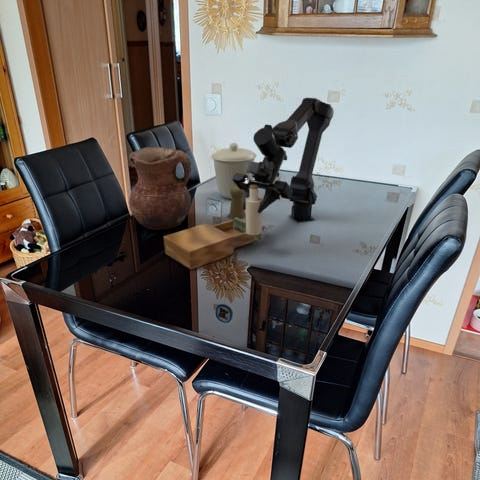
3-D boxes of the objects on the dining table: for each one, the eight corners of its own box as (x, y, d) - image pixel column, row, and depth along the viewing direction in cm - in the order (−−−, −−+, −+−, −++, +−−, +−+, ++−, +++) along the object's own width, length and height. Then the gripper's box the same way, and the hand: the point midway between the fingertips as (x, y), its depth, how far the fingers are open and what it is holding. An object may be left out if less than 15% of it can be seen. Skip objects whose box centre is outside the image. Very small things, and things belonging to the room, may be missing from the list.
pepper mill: (243, 219, 161) (243, 189, 154) (227, 218, 162) (226, 189, 155) (246, 213, 166) (246, 184, 159) (231, 212, 167) (230, 184, 160)
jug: (142, 239, 147) (130, 163, 132) (125, 219, 162) (113, 149, 148) (202, 227, 155) (197, 154, 141) (181, 209, 170) (174, 142, 156)
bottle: (255, 227, 138) (255, 182, 130) (264, 232, 135) (265, 186, 127) (242, 231, 136) (242, 185, 128) (251, 236, 133) (251, 189, 124)
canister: (263, 193, 185) (264, 141, 174) (241, 205, 173) (240, 150, 161) (228, 186, 194) (227, 136, 182) (204, 197, 181) (201, 144, 169)
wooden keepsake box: (207, 239, 146) (206, 223, 142) (233, 253, 137) (233, 236, 133) (165, 253, 137) (163, 236, 134) (190, 269, 128) (189, 251, 125)
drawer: (245, 225, 153) (245, 214, 151) (270, 236, 145) (271, 225, 143) (200, 240, 143) (199, 228, 141) (224, 253, 135) (224, 241, 132)
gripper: (234, 145, 129) (214, 192, 128) (289, 153, 120) (268, 203, 119) (249, 166, 139) (230, 209, 137) (301, 175, 130) (281, 221, 129)
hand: (251, 210), depth 130 cm, fingers closed on bottle, 5 cm apart
